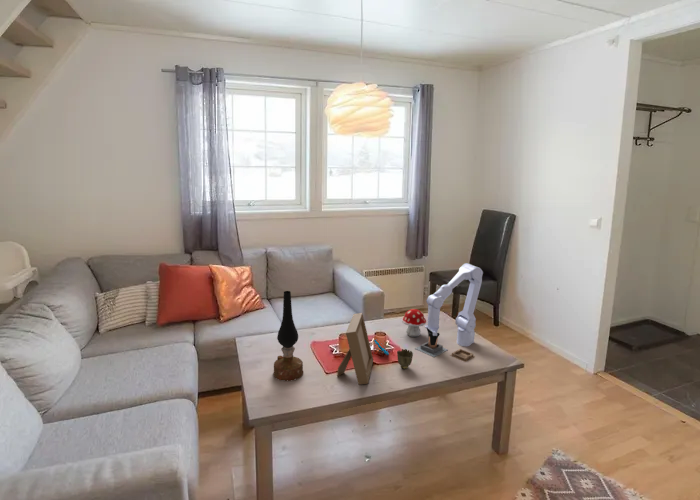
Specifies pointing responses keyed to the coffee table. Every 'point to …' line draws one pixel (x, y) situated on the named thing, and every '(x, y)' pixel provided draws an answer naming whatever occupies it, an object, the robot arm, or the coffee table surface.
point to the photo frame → (358, 350)
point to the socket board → (429, 351)
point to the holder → (462, 355)
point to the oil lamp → (287, 345)
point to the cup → (404, 358)
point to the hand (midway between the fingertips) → (431, 342)
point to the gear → (381, 347)
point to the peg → (432, 345)
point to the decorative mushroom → (414, 322)
